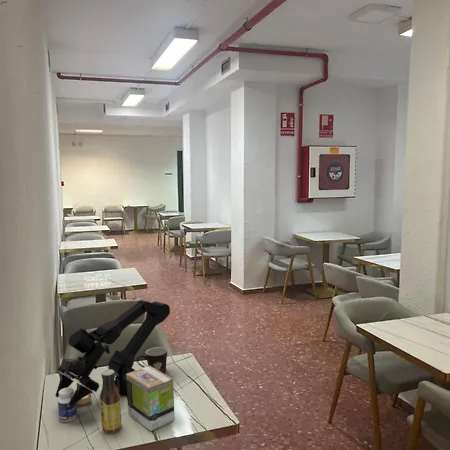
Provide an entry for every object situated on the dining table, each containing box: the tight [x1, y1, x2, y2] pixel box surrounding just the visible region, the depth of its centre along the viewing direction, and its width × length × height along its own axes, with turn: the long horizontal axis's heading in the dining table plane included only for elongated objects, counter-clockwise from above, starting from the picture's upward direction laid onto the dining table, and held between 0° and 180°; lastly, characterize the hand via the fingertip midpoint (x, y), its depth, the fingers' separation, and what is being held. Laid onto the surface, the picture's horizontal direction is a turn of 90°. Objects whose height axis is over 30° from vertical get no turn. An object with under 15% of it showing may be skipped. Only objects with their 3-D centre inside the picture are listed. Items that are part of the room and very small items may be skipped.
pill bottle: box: [57, 387, 78, 423], centre depth 148 cm, size 6×6×10 cm
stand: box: [73, 389, 93, 409], centre depth 160 cm, size 10×10×2 cm
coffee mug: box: [136, 346, 168, 375], centre depth 179 cm, size 12×9×10 cm
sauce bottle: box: [99, 368, 122, 435], centre depth 140 cm, size 6×6×20 cm
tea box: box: [126, 365, 176, 432], centre depth 147 cm, size 15×10×15 cm
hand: (62, 401), depth 147 cm, fingers open, 9 cm apart
